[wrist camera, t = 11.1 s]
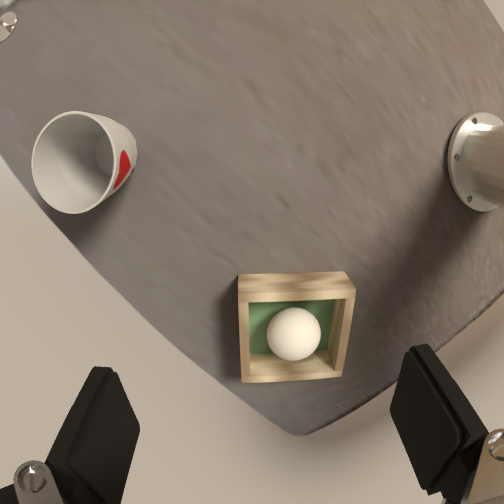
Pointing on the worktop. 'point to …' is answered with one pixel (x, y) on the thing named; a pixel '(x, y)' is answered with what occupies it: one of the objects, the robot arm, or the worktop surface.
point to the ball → (293, 334)
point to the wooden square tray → (287, 296)
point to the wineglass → (7, 24)
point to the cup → (82, 160)
